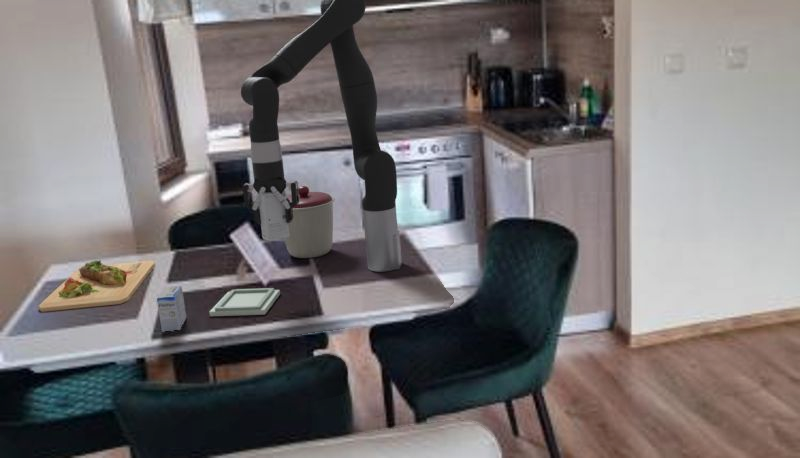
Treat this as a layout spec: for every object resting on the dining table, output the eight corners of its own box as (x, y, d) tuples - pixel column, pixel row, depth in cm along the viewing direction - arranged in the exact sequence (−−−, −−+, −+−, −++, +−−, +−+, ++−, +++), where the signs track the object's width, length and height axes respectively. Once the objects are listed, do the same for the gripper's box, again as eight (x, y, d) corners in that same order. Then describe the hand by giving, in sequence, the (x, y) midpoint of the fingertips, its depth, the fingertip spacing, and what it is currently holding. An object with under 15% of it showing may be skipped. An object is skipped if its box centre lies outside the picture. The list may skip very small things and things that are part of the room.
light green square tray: (280, 294, 198) (279, 287, 198) (265, 314, 185) (264, 307, 185) (228, 296, 200) (227, 289, 200) (210, 316, 187) (208, 309, 186)
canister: (273, 264, 225) (264, 194, 219) (290, 246, 242) (282, 181, 236) (333, 261, 222) (325, 191, 216) (345, 243, 239) (338, 178, 234)
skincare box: (268, 241, 190) (263, 194, 187) (261, 238, 194) (256, 192, 191) (291, 236, 194) (286, 190, 191) (283, 233, 197) (278, 188, 194)
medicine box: (168, 320, 187) (163, 287, 185) (187, 318, 187) (181, 285, 185) (162, 332, 179) (155, 298, 177) (181, 330, 179) (175, 296, 177)
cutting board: (126, 305, 202) (121, 278, 200) (36, 314, 201) (30, 287, 199) (157, 265, 235) (153, 242, 233) (80, 272, 234) (75, 249, 232)
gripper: (298, 154, 191) (305, 218, 196) (244, 157, 193) (251, 220, 197) (291, 160, 184) (298, 225, 188) (234, 162, 186) (242, 227, 190)
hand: (274, 222), depth 193 cm, fingers closed on skincare box, 7 cm apart
